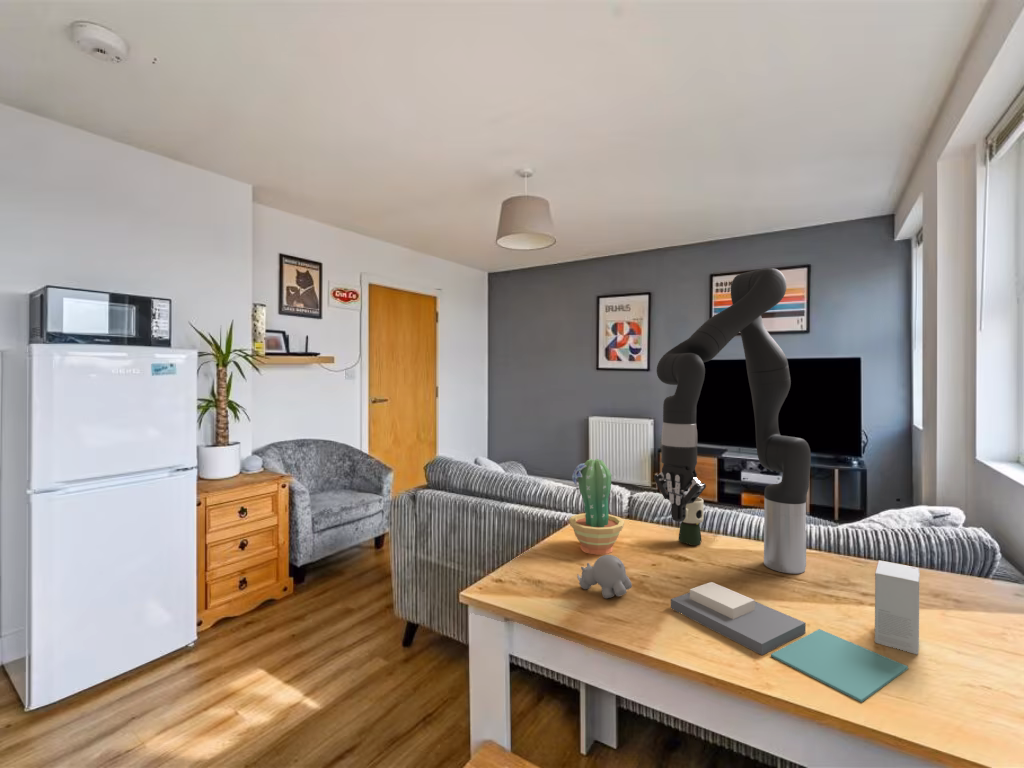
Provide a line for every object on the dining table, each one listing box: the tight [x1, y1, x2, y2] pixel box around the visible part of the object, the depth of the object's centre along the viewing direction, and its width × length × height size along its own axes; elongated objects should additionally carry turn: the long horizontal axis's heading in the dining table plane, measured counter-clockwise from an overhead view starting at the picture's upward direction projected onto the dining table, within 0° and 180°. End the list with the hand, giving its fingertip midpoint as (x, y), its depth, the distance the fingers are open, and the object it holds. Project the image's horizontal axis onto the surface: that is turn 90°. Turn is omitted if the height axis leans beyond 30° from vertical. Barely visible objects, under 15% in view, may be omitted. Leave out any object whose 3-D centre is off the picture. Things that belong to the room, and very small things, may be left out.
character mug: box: [678, 496, 704, 546], centre depth 142 cm, size 11×7×13 cm, turn 147°
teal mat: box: [770, 628, 909, 703], centre depth 84 cm, size 16×14×1 cm
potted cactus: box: [568, 458, 625, 555], centre depth 138 cm, size 15×16×25 cm
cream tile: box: [689, 581, 756, 619], centre depth 100 cm, size 7×10×2 cm
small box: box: [874, 559, 921, 655], centre depth 91 cm, size 8×6×13 cm
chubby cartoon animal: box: [577, 554, 633, 599], centre depth 111 cm, size 7×12×8 cm, turn 54°
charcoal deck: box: [670, 591, 807, 656], centre depth 98 cm, size 14×20×2 cm
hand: (678, 520), depth 109 cm, fingers closed
